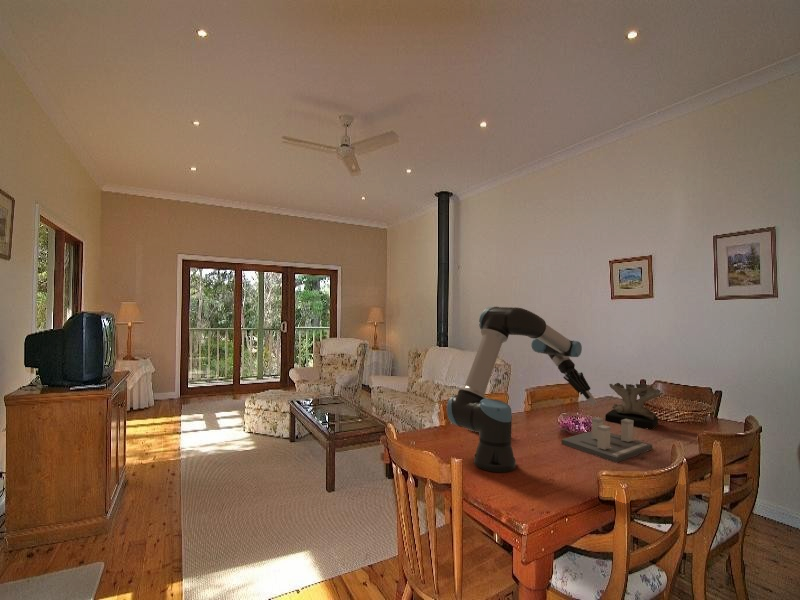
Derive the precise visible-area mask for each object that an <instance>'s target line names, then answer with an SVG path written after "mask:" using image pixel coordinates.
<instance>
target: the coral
mask: <svg viewBox="0 0 800 600" xmlns="http://www.w3.org/2000/svg"><path fill="white" fill-rule="evenodd" d="M609 387H610V389H611V390H612V391H614V392H615V393H616V394H617V395H618V396H619V397H620V398H621V399H622V400H621V404H617V403H615V404H613V405H612V409H611V410H610V411H609V412H607V413H606V414H605V417H604V422H607V423H614V424H619V425H621V420H623V419H630V420H634V423H633V428H634V427H635V428H639V427H641V428H640V429H645V428H648V429H647V430H650V429H653V428H654V427H655V426H656V425H657V424H658V425H659V417H658V416H657V413H654V412H653V411H651V410H650V409H649V408H648V407H644V404H645V403H646V402H647V401H649V400H652V399H655V398H658V397H661V396H662V395H664V393H663V392H661V389H659V388H657V389H655V388H653V386H652V385H650V386H647V384H646V383H639V384H638V383H636V384H634V385H633V384H631V383H630V384H628V383H626V384H625V386H624V384H621V383H620V382H617V383H614V384H613V383H609ZM638 396H639V398H638ZM658 425H657V426H658ZM657 426H656V427H657ZM656 427H655V428H656ZM655 428H654V429H655ZM654 429H653V430H654Z"/></svg>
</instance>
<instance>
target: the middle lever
mask: <svg viewBox="0 0 800 600" xmlns="http://www.w3.org/2000/svg"><path fill="white" fill-rule="evenodd" d="M590 421H591V431H592V438H593V439H596V440H598V429H597V426H601V425H605V424H604V422H605V418H602V417H600V416H596V417H591V420H590Z"/></svg>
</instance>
